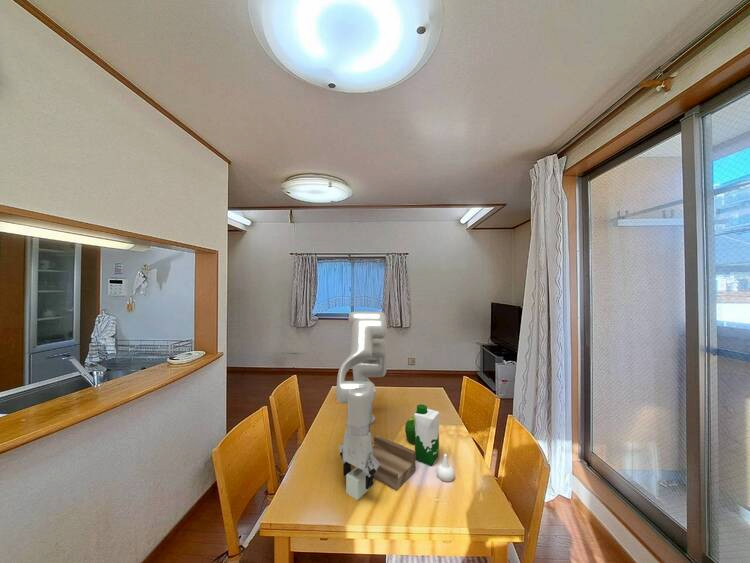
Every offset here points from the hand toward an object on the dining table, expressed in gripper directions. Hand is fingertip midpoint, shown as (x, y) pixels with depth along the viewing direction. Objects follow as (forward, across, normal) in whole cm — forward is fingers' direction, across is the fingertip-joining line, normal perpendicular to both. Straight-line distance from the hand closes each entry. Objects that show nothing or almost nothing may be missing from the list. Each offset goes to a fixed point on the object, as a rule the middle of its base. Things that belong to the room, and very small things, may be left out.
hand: (357, 480), depth 90 cm
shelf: (+4, +1, +15) cm, 15 cm away
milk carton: (+4, +10, +30) cm, 32 cm away
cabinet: (+4, 0, 0) cm, 4 cm away
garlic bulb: (+4, +20, +25) cm, 32 cm away
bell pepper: (+4, 0, +38) cm, 38 cm away
